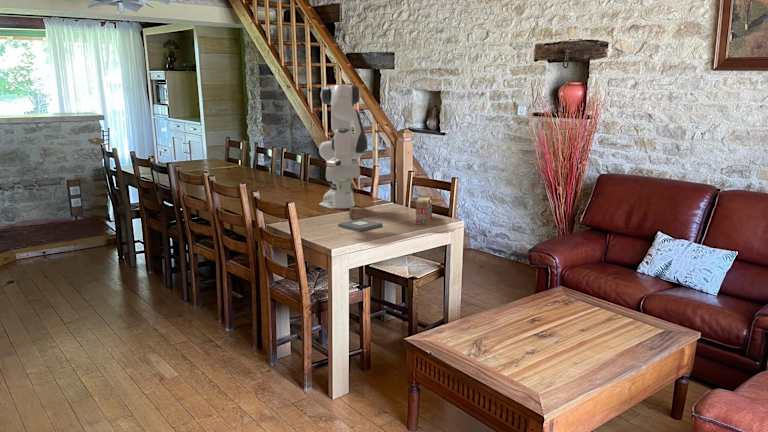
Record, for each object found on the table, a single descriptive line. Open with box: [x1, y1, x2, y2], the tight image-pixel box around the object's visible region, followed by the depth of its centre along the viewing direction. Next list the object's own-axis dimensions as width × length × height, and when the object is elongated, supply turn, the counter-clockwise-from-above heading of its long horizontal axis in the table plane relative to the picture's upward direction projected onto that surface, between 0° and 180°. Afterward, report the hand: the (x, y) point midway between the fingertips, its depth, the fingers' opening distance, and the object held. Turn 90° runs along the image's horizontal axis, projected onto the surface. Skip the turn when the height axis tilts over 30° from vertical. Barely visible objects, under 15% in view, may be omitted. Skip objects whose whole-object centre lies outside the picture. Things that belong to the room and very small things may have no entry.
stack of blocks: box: [415, 196, 433, 226], centre depth 325 cm, size 21×6×12 cm, turn 170°
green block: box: [337, 180, 351, 193], centre depth 311 cm, size 5×5×6 cm
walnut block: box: [349, 206, 364, 221], centre depth 330 cm, size 5×5×6 cm
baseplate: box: [337, 218, 383, 232], centre depth 314 cm, size 16×16×2 cm
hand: (343, 188), depth 312 cm, fingers closed on green block, 5 cm apart
